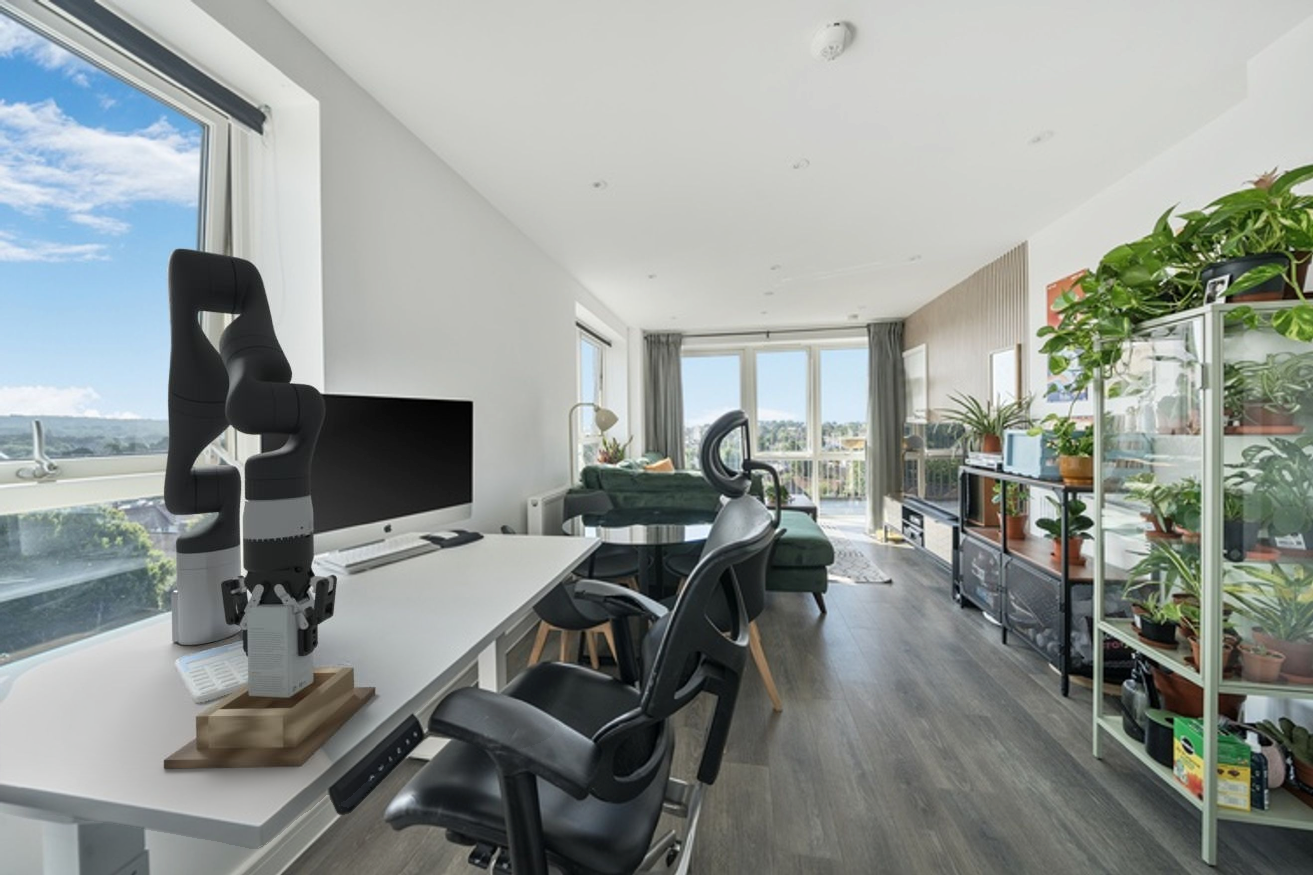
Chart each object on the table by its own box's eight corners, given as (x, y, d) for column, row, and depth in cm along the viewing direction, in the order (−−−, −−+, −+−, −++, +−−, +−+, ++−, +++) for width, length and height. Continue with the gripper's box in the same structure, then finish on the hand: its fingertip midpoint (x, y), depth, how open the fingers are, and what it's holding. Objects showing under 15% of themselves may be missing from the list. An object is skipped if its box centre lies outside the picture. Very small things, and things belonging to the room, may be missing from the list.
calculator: (195, 708, 71) (195, 695, 71) (173, 667, 83) (173, 656, 83) (304, 672, 81) (304, 661, 81) (270, 641, 94) (269, 631, 94)
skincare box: (314, 682, 68) (313, 596, 67) (288, 699, 63) (287, 607, 63) (274, 680, 68) (273, 595, 68) (246, 696, 64) (244, 606, 64)
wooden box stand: (163, 768, 58) (163, 726, 58) (268, 694, 74) (268, 662, 74) (300, 765, 58) (300, 724, 58) (375, 693, 74) (375, 660, 74)
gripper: (199, 537, 62) (201, 668, 62) (314, 536, 62) (316, 666, 62) (248, 525, 69) (249, 642, 69) (350, 524, 69) (351, 641, 70)
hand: (281, 653), depth 66 cm, fingers closed on skincare box, 6 cm apart
